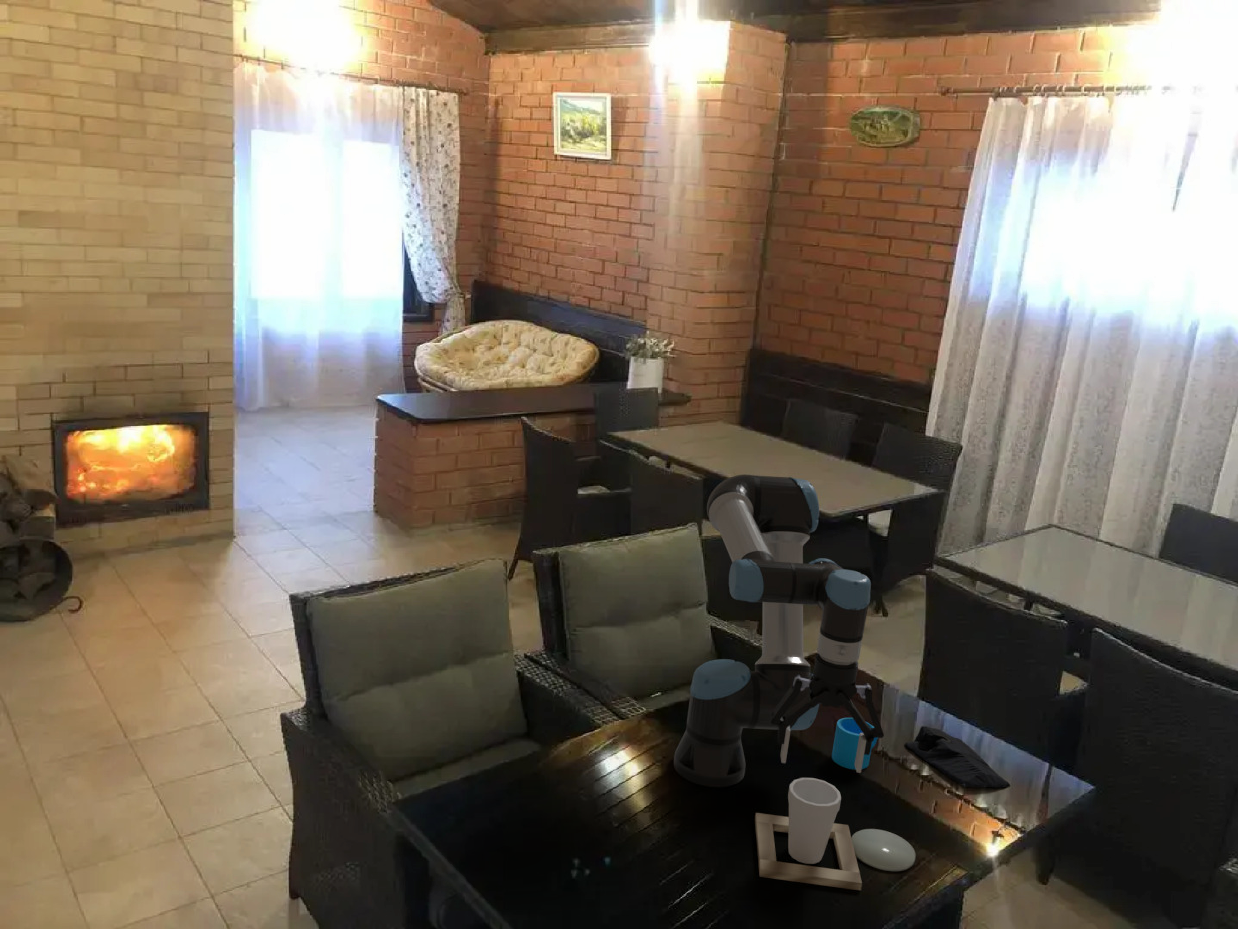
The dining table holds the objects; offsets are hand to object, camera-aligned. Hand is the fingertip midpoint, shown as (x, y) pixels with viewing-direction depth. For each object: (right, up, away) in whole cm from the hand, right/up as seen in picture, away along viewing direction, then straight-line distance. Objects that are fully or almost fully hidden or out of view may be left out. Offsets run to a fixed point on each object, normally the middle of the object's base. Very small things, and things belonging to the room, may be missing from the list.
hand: (820, 764), depth 187 cm
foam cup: (-2, -18, +5) cm, 19 cm away
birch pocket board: (-2, -18, +4) cm, 19 cm away
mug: (+16, -11, +42) cm, 46 cm away
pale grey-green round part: (+13, -19, +8) cm, 24 cm away
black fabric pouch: (+39, -13, +43) cm, 60 cm away
